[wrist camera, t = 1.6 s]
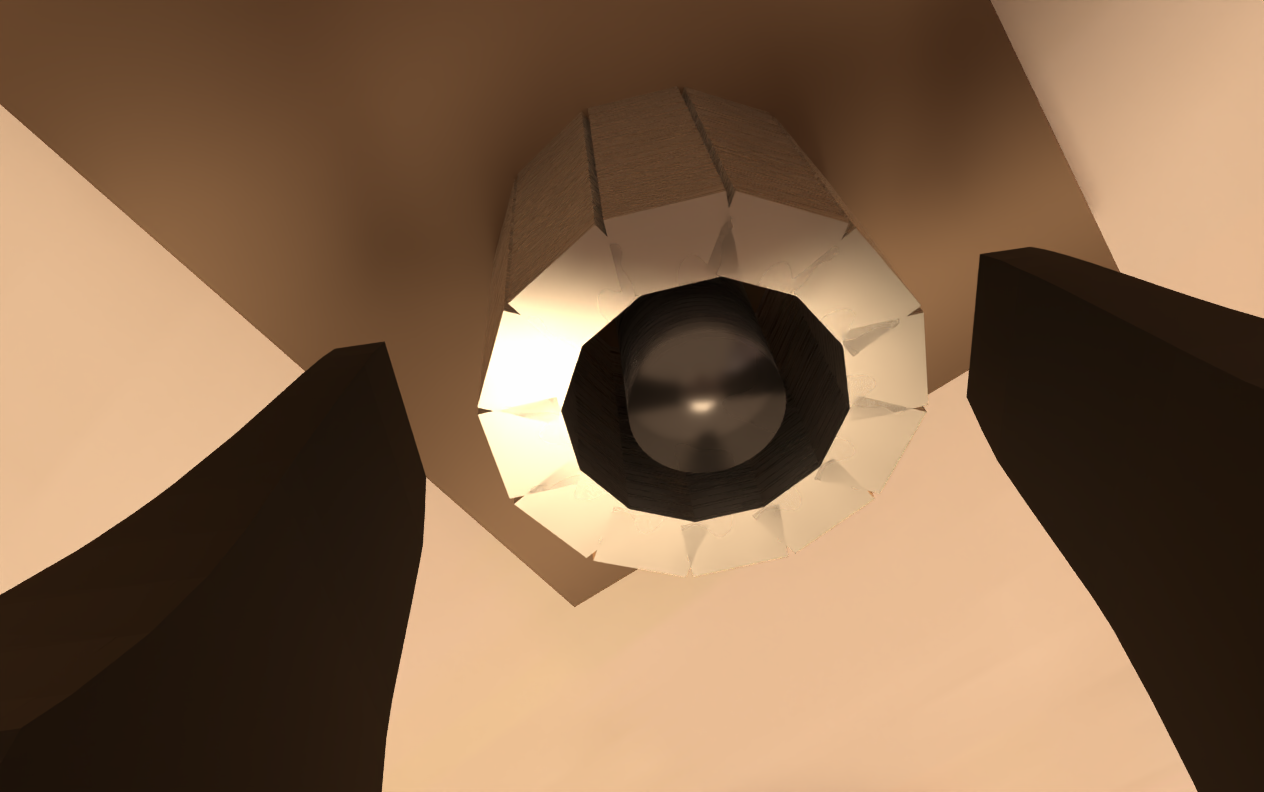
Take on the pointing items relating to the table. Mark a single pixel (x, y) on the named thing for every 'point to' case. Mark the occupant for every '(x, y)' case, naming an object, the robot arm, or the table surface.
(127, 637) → the robot arm
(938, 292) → the walnut board
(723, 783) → the table surface
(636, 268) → the steel collar
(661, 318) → the stand rod
